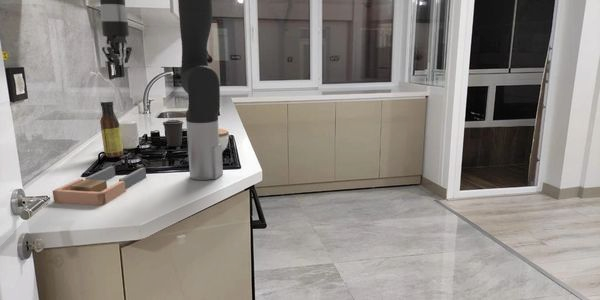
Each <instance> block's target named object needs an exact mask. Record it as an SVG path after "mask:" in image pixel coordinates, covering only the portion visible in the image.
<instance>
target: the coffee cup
mask: <svg viewBox="0 0 600 300" xmlns="http://www.w3.org/2000/svg"><path fill="white" fill-rule="evenodd" d="M183 124H184V121H183V120H179V119H169V120H166V121H163V122H162V125H163V127H164V133H165V138H166V142H167V143H166V145H167V146H168V147H180V146H182V143H183V142H182V140H183Z"/></svg>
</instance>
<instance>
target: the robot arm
mask: <svg viewBox="0 0 600 300" xmlns="http://www.w3.org/2000/svg"><path fill="white" fill-rule="evenodd" d="M99 2H100V21H101V29H102V35H103V37H106V40H105V42H106V44H105V45H106V46H102V48H101V50H102V52H103V53H104V56H105V57H106V59H107V61H108V63H109V64H112V65H113V66H114V73H115V77H116V78H120V79H121V78H125V77H126V75H125V65H126V64H128V63H129V60H130V57H131V53H132V49H133V48H132V46H128V42H127V38H126V37H129V36H130V30H129V21H128V12H127V7H126V0H99ZM177 3H178V18H179V28H180V29H179V30H180V39H181V68H180V83H181V86H182V89H183V90H184V91H185V93H187V95H188V97H187V99H188V100H187V101H188V108H187V110H186V111H185V121H186V136H187V137H186V138H187V153H188V165H189V167H188V168H189V178H190V179H192V180H197V181H208V180H217V179H218V178H220V177H221V176H222V175H223V174H224V169H223V166H224V165H223V152H222V145H221V144H219V129H220V128H219V112H220V108H221V97H220V95H221V93H220V91H221V90H220V88H221V87H220V80H219V76H218V74H217V72H216V71H215V69H213V68H212V67H210V66H209V65H208V64H209V62H208V51H207V50H208V49H207V48H208V41H209V38H210V37H209V36H210V33H211V28H212V23H213V0H178V2H177Z"/></svg>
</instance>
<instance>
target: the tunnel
mask: <svg viewBox="0 0 600 300" xmlns="http://www.w3.org/2000/svg"><path fill="white" fill-rule="evenodd" d="M115 169H116V168H115V166H114V165H110V166H108V167H106V168H104V169H100V170H99V171H97V172H95V173H93V174H91V175H89V176H86V177H85V178H84V180H86V179H93V180H105V181H106V182H107V181H108V180H109V179H111V178H114V177H115V176H116V170H115ZM146 178H147V171H146V167H141V168H138V169H136V170H134V171H132V172H130V173H129V174H127V175H125V176H123V177H121V178H119V179H118V182H119V181H125V189H126V190H127V189H128V188H129V189H130V188H131V187H132V186H134V185H135V184H137V183H139V182H140V181H143V180H144V179H146Z"/></svg>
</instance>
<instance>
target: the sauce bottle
mask: <svg viewBox="0 0 600 300" xmlns="http://www.w3.org/2000/svg"><path fill="white" fill-rule="evenodd" d="M100 107H101V111H102V112H101V113H102V115H101V118H100V122H99V124H100V132H101V138H102V144H103V151H104V154H105V153H106V156H107V157H106V156H105V157H106V158H118V157H121V156H123V155H124V148H123V146H122V139H121V132H120V125H119V120H118V118H117V116H116V113H115V111H114V110H115V109H114V101H113V100H102V101H100Z"/></svg>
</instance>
